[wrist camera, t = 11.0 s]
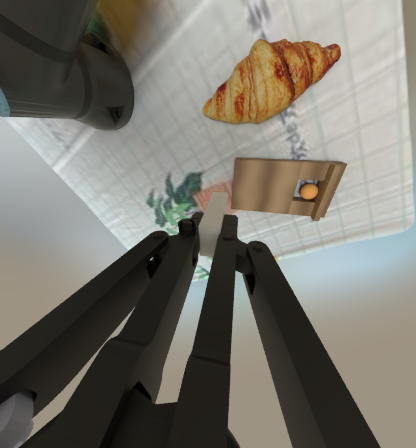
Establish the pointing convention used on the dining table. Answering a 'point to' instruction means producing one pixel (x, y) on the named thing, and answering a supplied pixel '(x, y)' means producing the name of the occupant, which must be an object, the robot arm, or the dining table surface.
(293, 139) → the dining table surface
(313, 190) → the ball
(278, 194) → the wooden tray with slot
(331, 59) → the croissant
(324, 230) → the dining table surface
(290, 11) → the dining table surface
